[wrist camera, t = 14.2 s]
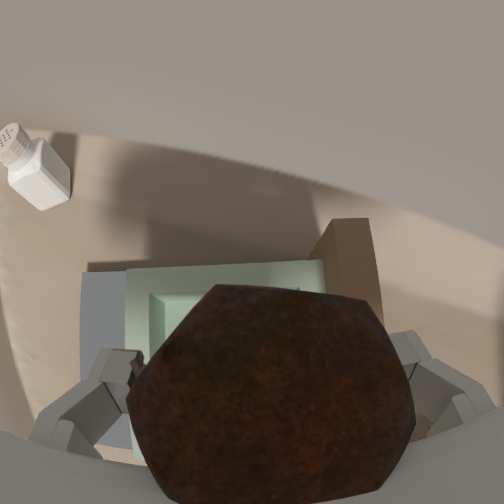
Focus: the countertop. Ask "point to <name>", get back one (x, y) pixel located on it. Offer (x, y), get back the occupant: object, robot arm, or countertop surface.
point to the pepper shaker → (34, 168)
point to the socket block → (197, 297)
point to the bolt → (272, 400)
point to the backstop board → (104, 335)
